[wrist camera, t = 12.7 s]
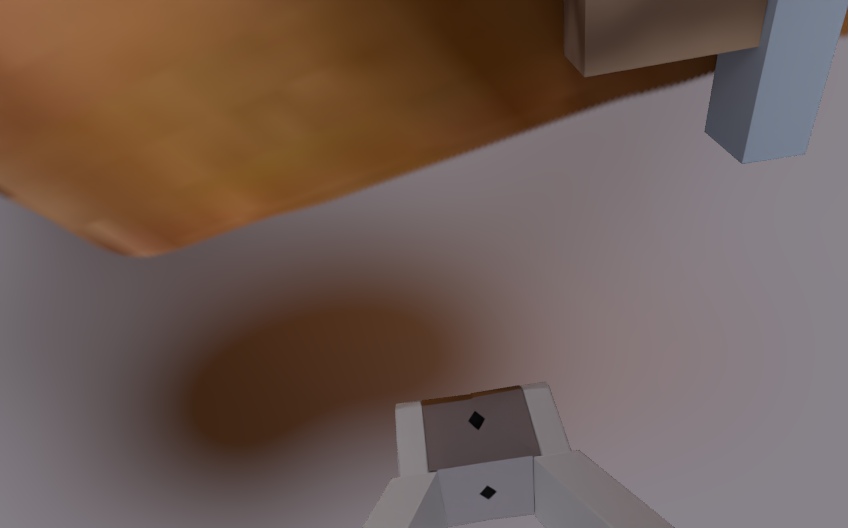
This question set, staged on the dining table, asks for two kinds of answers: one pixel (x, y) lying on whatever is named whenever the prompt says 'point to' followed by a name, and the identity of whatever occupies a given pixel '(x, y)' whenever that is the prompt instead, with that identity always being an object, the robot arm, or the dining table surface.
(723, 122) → the board
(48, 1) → the dining table surface
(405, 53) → the dining table surface
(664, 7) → the walnut block
